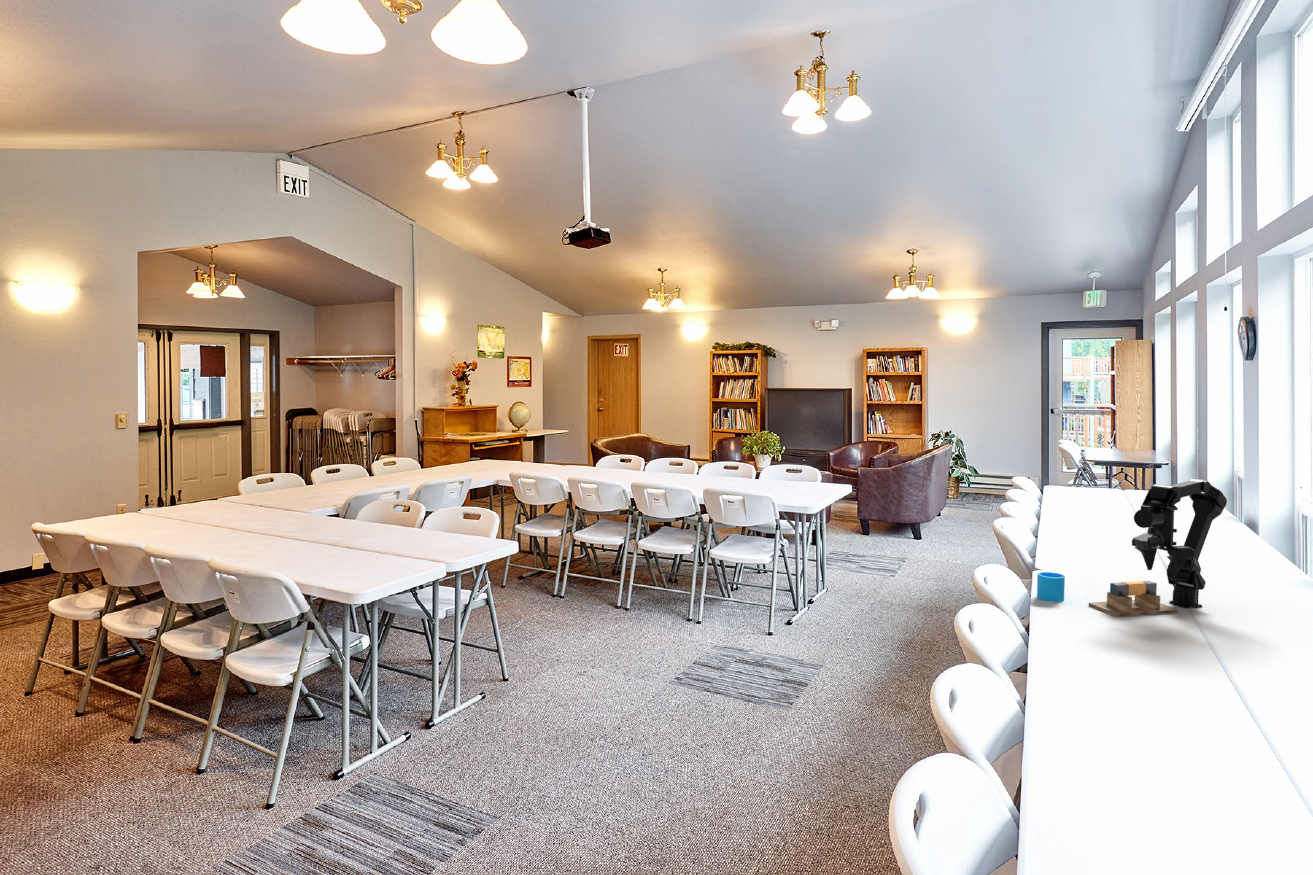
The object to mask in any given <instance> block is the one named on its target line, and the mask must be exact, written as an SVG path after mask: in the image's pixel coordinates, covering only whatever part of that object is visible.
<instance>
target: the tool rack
mask: <svg viewBox="0 0 1313 875" xmlns="http://www.w3.org/2000/svg"><path fill="white" fill-rule="evenodd" d="M1088 607H1090V608H1093V609H1095V610H1098V611H1101V612H1102V613H1103V612H1104V613H1105V614H1107V615H1110V616H1113V617H1116V618H1118V617H1119V618H1120V617H1121V618H1122V617H1133V616H1134V617H1135V616H1136V617H1137V616H1150V615H1164V614H1165V615H1166V614H1178V613H1180V609H1179V608H1175V607H1173V606H1171V605H1166V604H1164V603H1161V595H1159V594H1157V591H1156V592H1155V591H1152V594H1147V595H1134V599H1133V597H1131V596H1128V593H1124V596H1115V595H1112V594H1110V591H1107V592H1106V601H1098V602H1097V601H1095V602H1088Z"/></svg>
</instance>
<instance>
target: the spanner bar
mask: <svg viewBox="0 0 1313 875" xmlns="http://www.w3.org/2000/svg"><path fill="white" fill-rule="evenodd" d="M1157 584H1158V583H1157V582H1154V581H1151V580H1141V581H1140V580H1129V581H1121V582H1110V584H1109V586H1110V588H1109V592H1110V594H1112V595H1115V596H1124V593H1128V596H1129V597H1131V596H1135V595H1147V594H1152V591H1155V592H1156V593H1157V588H1158V587H1157Z"/></svg>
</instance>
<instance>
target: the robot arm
mask: <svg viewBox="0 0 1313 875" xmlns="http://www.w3.org/2000/svg"><path fill="white" fill-rule="evenodd" d="M1186 497H1189V498H1190V500H1191V501H1192V505H1191V506H1192V510H1193V513H1194V517H1193V519H1192V521H1191V524H1190V527H1189V530H1188V532H1187V535H1186V538H1185V541H1184V544H1183V545H1177V541H1174V533H1177V532H1178V528H1175V525H1174V524H1175V511H1178V510H1179V508H1178V507H1177V506H1176V504H1177V503H1179V502H1181V499H1182V498H1186ZM1227 503H1228V500H1227V498H1226V496H1225V495H1224V493H1223V492H1222V491H1221V490H1219V489H1218V488H1217V487H1215V486H1214V485H1212V484H1211V482H1210V481H1208V480H1206V479H1196V478H1193V479H1189V480H1187V481H1183V482H1179V483H1174V484H1171V485H1170V484H1169V485H1168V484H1167V485H1166V484H1153V485H1151V487H1150V488H1149V489H1148V491H1147V494H1146V495H1145V498H1144V500H1143V502H1142V503H1141V505H1140V509H1138V510H1137V511H1136V512H1135V513H1134V515H1133V521H1134V523H1135V524H1136V526H1137V527H1139V528H1141V529H1145V528H1147V532H1144V533H1141V534H1140V535H1137V536H1134V537H1133V538H1132V540H1131V546H1133V547H1134V548H1135V549H1136V550H1137V551H1138V552H1139V553H1141V556H1142V557H1143V560H1144V563H1145V565H1146V569H1147V570H1148V571H1152V570H1153V567H1154V562H1155V559H1156V555H1157V550H1162V551H1165V552H1167V555H1166V558H1167V559H1168V560H1169V563H1168V564H1167V568H1166V577H1167V581H1168V585H1173V590H1172V600H1169V603H1171V604H1173V605H1176V606H1179V607H1182V608H1185V609H1186V608H1201V607H1203V604H1200V603H1199V591H1200V590H1201V591H1203V590H1204V589H1205V586H1206V582H1207V581H1206V580H1205V579H1204V577H1203V575H1202V574H1201V571H1202V567H1201V566H1200V561H1199V559H1200V556H1201V553H1202V551H1203V547H1204V545H1205V543H1206V542H1205V541H1206V539H1207V537H1208V534H1209V531H1210V529H1211V526H1212V523H1213V521H1214V520H1215V519H1216V518H1218V517H1219V516H1220V515H1222V514H1223V511H1224V509H1225V507H1226V506H1227Z"/></svg>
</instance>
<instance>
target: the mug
mask: <svg viewBox="0 0 1313 875" xmlns="http://www.w3.org/2000/svg"><path fill="white" fill-rule="evenodd" d="M1065 577H1066V576H1065V575H1064V574H1062V573H1058V572H1049V571H1042V572H1037V576H1036V579H1037V582H1036V598H1037V599H1038V600H1040V601H1043V602H1049V603H1062V602H1064V601H1065V588H1066V587H1065V582H1066V579H1065Z"/></svg>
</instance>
